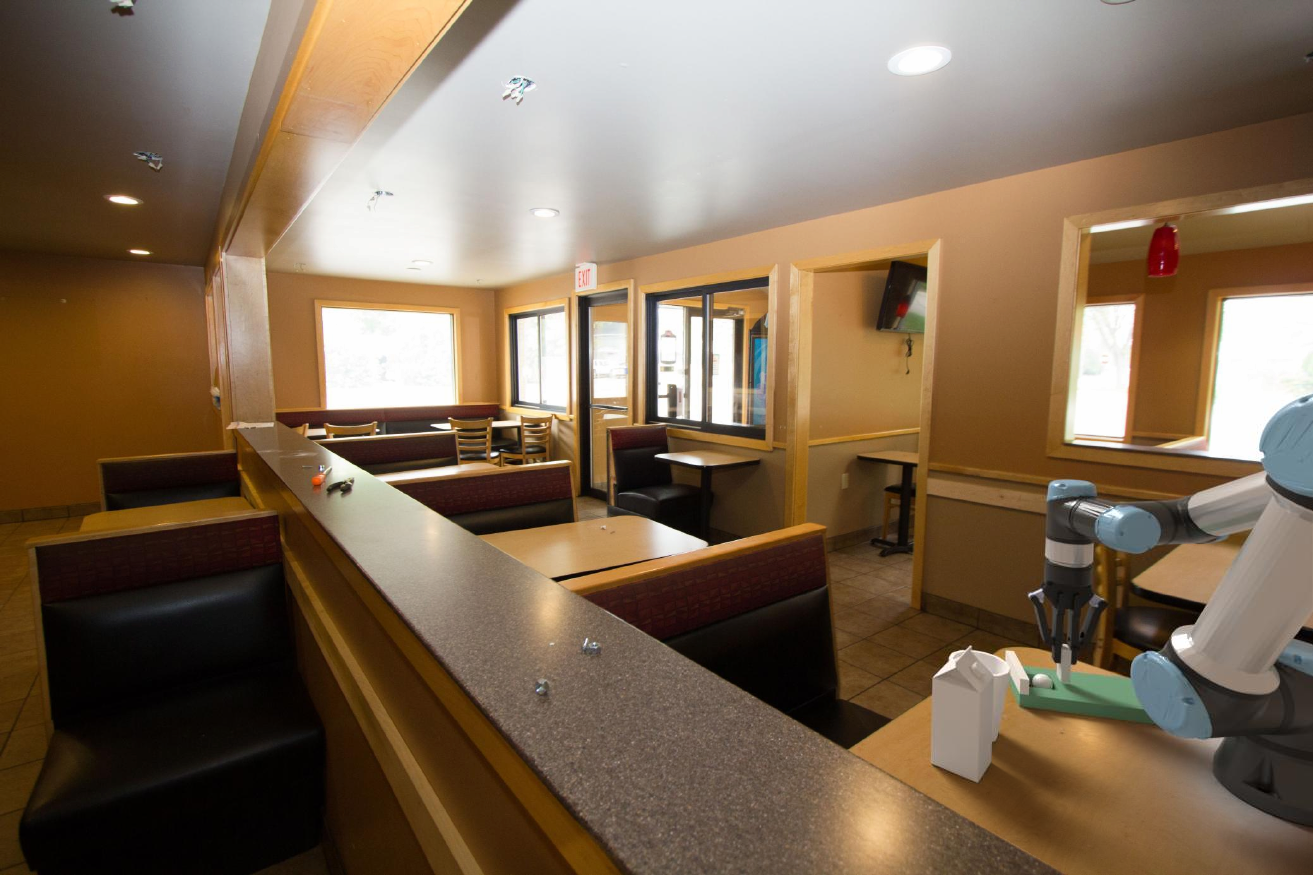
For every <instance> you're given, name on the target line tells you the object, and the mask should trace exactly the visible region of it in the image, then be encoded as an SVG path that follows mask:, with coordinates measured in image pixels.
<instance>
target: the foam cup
mask: <svg viewBox="0 0 1313 875" xmlns="http://www.w3.org/2000/svg"><path fill="white" fill-rule="evenodd" d="M965 651H966V649H965V650H964V649H961V650H958V651H954V652H951V654H950V655H949V657H948V662H949V661H951V660H953V659H956V658H958V657H960V656H961V655H962V654H963V653H964V652H965ZM971 652H972V653H973V654H974V655H975V656H976V657H977V658H978V659H979V660H980V661H981V663H982V664H983V665H984V666H985V667H986V668H987V669H988V670H989V671H990V672H991V673H992V674H993V676H994V688H993V720H992V743H994V742H996V741H997V739H998V735H999V732H1000V727H1001V721H1002V716H1003V713H1004V706H1005V701H1006V696H1007V692H1008V686H1009V682H1010V667H1009V665H1008V664H1007V662H1005V660H1004V659H1002V658H1000V657H999V656H997V655H994V654H991V653H989V652H988V653H987V652H985V651H979V650H973V649H972V650H971Z"/></svg>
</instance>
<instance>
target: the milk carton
mask: <svg viewBox="0 0 1313 875" xmlns="http://www.w3.org/2000/svg"><path fill="white" fill-rule="evenodd" d="M965 650H966V651H965V652H964V653H963V654H962V655H961V656H960V657H958V658H956V659H953V660H951V661H949V660H948V661H947V662H946V664H944V665H943V667H942V668H940V670H938V672H937V673H935V675H934V676H933V677H932V687H931V688H932V694H931V699H932V700H931V701H932V702H931V738H930V739H931V740H930V742H931V744H930V746H931V747H930V752H931V753H930V764H931V765H932V764H933V765H935V766H937V767H939V768H941V769H944V770H946V771H949V772H951V773H953V774H956V775H958V776H960V777H962V778H965V779H967V780H970V781H972V782H974V783H976V784H977V783H979V782H980V781H981V778H982V777H983V776H984V774H985V772H986V771H987V770H988V767H989V766H990V765H991V762H992V750H993V749H992V748H993V747H992V746H993V742H992V720H993V688H994V676H993V674H992V673H991V672H990V671H989V670H988V669H987V668H986V667H985V666H984V665H983V664H982V663H981V661H980V660H979V659H978V658H977V657H976V656H975V655H974V654H973V653H972V652H971V650H973V646H972V645H969V646H968V647H967V648H966V649H965Z"/></svg>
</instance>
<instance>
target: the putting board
mask: <svg viewBox="0 0 1313 875" xmlns="http://www.w3.org/2000/svg"><path fill="white" fill-rule="evenodd" d="M1004 657H1005V660H1004V661H1005V662H1007V664H1008V665H1009V667H1010V682H1009V684H1010V685H1009V684H1008V685H1009V687H1010V686H1011V687H1010V689H1011V692H1012V691H1013V692H1012V694H1013V693H1014V694H1013V695H1014V698H1015V697H1016V698H1015V700H1016V702H1017V704H1018V706H1019V707H1024V708H1029V709H1037V710H1046V711H1052V712H1059V713H1066V714H1074V715H1082V716H1089V717H1097V718H1106V719H1112V720H1113V719H1114V720H1120V721H1127V722H1134V723H1135V722H1136V723H1143V724H1151V725H1157V724H1156V723H1155V722H1154V721H1153V720H1152V719H1151V718H1150V717H1149V715H1148V714H1147V713H1146V711H1145V710H1144V709H1143V707H1142V706H1141V704H1140V702H1139V700H1138V698H1137V696H1136V694H1135V690H1134V688H1133V685H1132V681H1131V677H1124V678H1123V676H1114V675H1106V674H1105V675H1104V674H1096V673H1087V672H1079V671H1071V673H1070V683H1067V682H1061V681H1060V679H1059V678H1058V676H1057V669H1052V668H1043V667H1034V666H1027V665H1022V663H1021V662H1020V660H1019V658H1018V656H1017V654H1016V653H1015V651H1014V650H1005V656H1004ZM1037 674H1044V675H1046V676H1048V677H1049V678H1050V679H1051V680H1052V682H1053V689H1052V690H1051V689H1043V688H1034V686H1029V685H1033V684H1032V679H1033V677H1034V676H1035V675H1037Z"/></svg>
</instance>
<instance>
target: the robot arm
mask: <svg viewBox="0 0 1313 875" xmlns="http://www.w3.org/2000/svg"><path fill="white" fill-rule="evenodd" d="M1258 445H1259V446H1258V450H1259V452H1261V453H1263V457H1262V458H1261V459H1260V461H1261V465H1262V467H1263V469H1264V470H1262V471H1259V472H1256V473H1253V474H1251V475H1247V476H1244V477H1240V478H1237V479H1234V480H1232V481H1229V482H1226V483H1223V484H1220V485H1219V484H1218V485H1217V486H1215V487H1211V488H1208V489H1205V490H1202V491H1198V492H1196V493H1194V494H1193V493H1192V494H1190V495H1187V496H1184V497H1182V498H1181V497H1180V498H1177V499H1172V500H1171V499H1169V500H1151V501H1150V500H1148V501H1147V500H1145V501H1125V502H1124V501H1123V502H1120V501H1119V502H1118V501H1117V502H1116V501H1110V500H1107V499H1102V498H1099V497H1098V493H1097V487H1096V485H1095V484H1094V483H1092V482H1090V481H1088V480H1087V481H1086V480H1081V479H1056V480H1053V481H1050V482H1049V483H1048V489H1047V495H1046V496H1047V497H1046V498H1047V499H1046V500H1045V503H1046V508H1045V509H1046V514H1045V515H1046V516H1045V518H1046V519H1045V520H1046V521H1045V549H1044V550H1045V551H1044V556H1045V558H1046V559H1045V560H1044V567H1043V568H1044V570H1043V582H1042V584H1041V585H1040V588H1039V589H1038V590H1036V591H1028V592H1027V597H1028V598H1029V600H1030V602H1032V604H1033V609H1034V613H1035V617H1036V622H1037V625H1038V626H1037V627H1038V629H1039V633H1040V637H1041V639H1042V640H1043V642H1044V643H1045V644H1046V645H1050V646H1051V659H1052V661H1053V662H1054V664H1056V670H1057V676H1058V678H1059V679H1060V681H1061V682H1067V683H1070V673H1071V672H1072V671H1071V670H1072V667H1071V666H1076V665H1077V663H1078V652H1080V649H1082V648H1084V649H1088V648H1090V646H1091V643H1092V640H1093V638H1094V635H1095V632H1096V630H1097V626H1098V623H1099V621H1100V618H1101V615H1102V613H1103V612H1104V611H1105V610H1106V609H1107V607H1109V602H1108V601H1107V600H1106V599H1104V598H1103V597H1102V596H1098V595H1096V593H1095V590H1094V589H1093V570H1094V569H1093V568H1094V567H1093V566H1092V563H1093V562H1094V546H1095V545H1094V542H1096V543H1099V544H1102V545H1104V546H1105V547H1108V548H1110V549H1113V550H1115V551H1119V552H1125V553H1128V554H1129V553H1130V554H1135V555H1136V554H1137V555H1138V554H1142V553H1145V552H1146V551H1148V550H1149V549H1150V550H1151V549H1152V548H1154V547H1155V546H1163V545H1181V544H1182V545H1183V544H1187V545H1188V544H1195V545H1207V544H1212V543H1217V542H1222V541H1225V540H1227V539H1229V537H1230V535H1231V534H1236V533H1241V532H1245V531H1249V530H1251V532H1250V533H1249V535H1248V537H1247V538H1246V539H1245V542H1243V544H1242V546H1241V548H1240V550H1239V551H1238V553H1237V554H1236V556H1235V558H1234V559H1233V560H1232V563H1231V564H1230V566H1229V568H1228V569H1227V571H1226V573H1225V574H1224V576H1223V577H1222V578H1221V581H1220V583H1218V586H1217V587H1216V589H1215V590H1214V592H1213V594H1212V595H1211V597H1210V599H1209V600H1208V603H1207V604H1206V605H1205V607H1204V609H1203V611H1201V613H1200V615H1199V616H1198V618H1197V620H1196V622H1195V623H1194V624H1189V625H1188V624H1187V625H1182V626H1179V627H1177V628H1176V629H1175V630H1174V631H1173V632H1172V634H1171V635H1170V637H1169V639H1168V640H1167V642H1166V643H1165V645H1164V647H1163V648H1162V649H1160V650H1159V651H1153V650H1147V651H1146V652H1144V653H1140V654H1137V656H1135V657H1134V659H1133V661H1132V662H1131V666H1130V678H1131V681H1132V685H1133V688H1134V690H1135V694H1136V696H1137V698H1138V700H1139V702H1140V704H1141V706H1142V707H1143V709H1144V710H1145V711H1146V713H1147V714H1148V715H1149V717H1150V718H1151V719H1152V720H1153V721H1154V722H1155V723H1156V724H1155V725H1156V726H1158V727H1160V728H1161V729H1162V730H1163V731H1165V732H1166V733H1167V734H1170V735H1172V736H1176V737H1177V738H1181V739H1183V738H1184V739H1197V740H1202V741H1205V740H1209V739H1220V738H1223V739H1222V741H1221V742H1220V743H1219V746H1218V748H1217V749H1216V750H1215V752H1214V754H1213V758H1212V773H1213V775H1214V778H1215V779H1216V780H1217V781H1218V782H1219V783H1220V784H1221V785H1222V786H1223V787H1224V788H1225V789H1226V790H1227V791H1229V792H1230V793H1231V794H1233V795H1234V796H1236V797H1237V798H1239V799H1241V800H1242V801H1244V802H1246V803H1247V804H1250V805H1252V806H1253V807H1255V808H1257V809H1259V810H1261V811H1263V812H1265V813H1269V814H1271V815H1274V816H1276V817H1279V818H1281V819H1284V820H1287V821H1291V822H1294V823H1297V824H1301V825H1305V826H1309V827H1313V644H1312V643H1309V642H1306V641H1303V640H1299V639H1295V636H1296V635H1297V634H1299V631H1300V630H1301V628H1302V627H1303V626H1304V624H1306V622H1307V621H1308V619H1309V618H1310V617H1311V615H1312V614H1313V393H1312V394H1308V395H1305V396H1302V397H1300V398H1297V399H1295V400H1293V401H1291V402H1289V403H1287V404H1286V405H1284V406H1283V407H1281V408H1280V409H1279V410H1278V411H1276V412H1275V414H1274V415H1273V416H1271V418H1270V419H1269V420H1268V422H1266V424H1265V427H1264V429H1263V430H1262V432H1261V436H1260V438H1259V444H1258ZM1044 597H1045V598H1046V599H1047V600H1048V601H1049V602H1050V604H1051V608H1052V619H1051V622H1052V623H1051V632H1050V627H1049V624H1048V619H1047V617H1046V612H1045V608H1044V606H1043V604H1042V603H1044V601H1045V600H1044V599H1045V598H1044ZM1088 603H1089V606H1088V610H1087V612H1086V615H1085V617H1084V621H1083V623H1082V626H1081V628H1080V622H1081V615H1082V609H1083V608H1084V607H1085V605H1087V604H1088ZM1066 610H1067V628H1066V629H1067V633H1066V634H1067V635H1066V643H1067V644H1066V643H1064V621H1065V615H1066Z"/></svg>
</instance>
